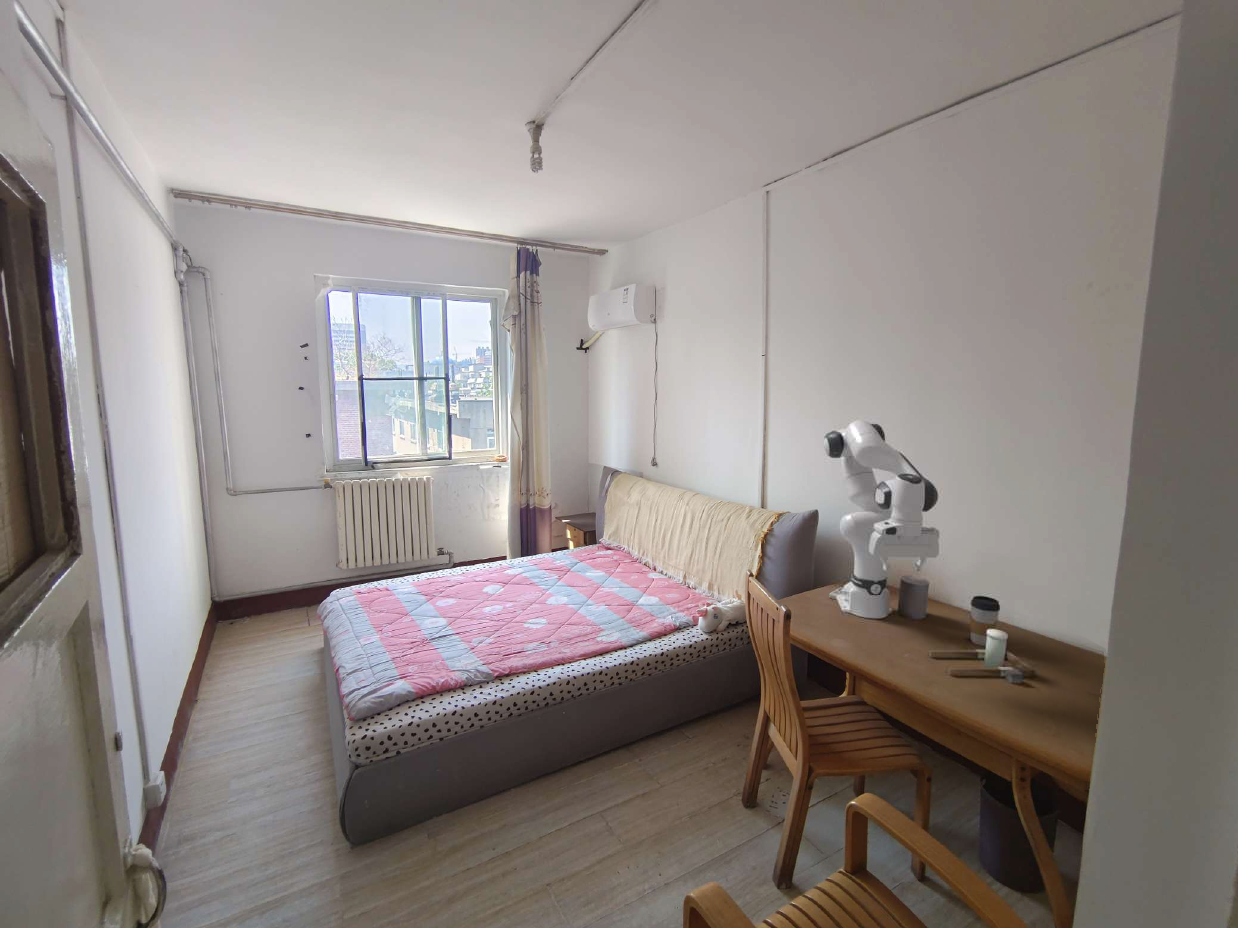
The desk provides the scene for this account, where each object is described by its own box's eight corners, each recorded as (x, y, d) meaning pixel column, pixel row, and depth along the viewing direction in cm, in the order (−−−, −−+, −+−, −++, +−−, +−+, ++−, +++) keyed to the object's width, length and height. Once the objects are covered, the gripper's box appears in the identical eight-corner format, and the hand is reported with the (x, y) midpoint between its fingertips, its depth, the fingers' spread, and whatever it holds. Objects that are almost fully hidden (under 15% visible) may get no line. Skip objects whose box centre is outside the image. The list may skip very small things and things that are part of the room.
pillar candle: (891, 611, 217) (894, 573, 215) (909, 606, 221) (912, 570, 219) (914, 621, 209) (917, 582, 206) (932, 616, 213) (935, 578, 210)
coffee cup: (966, 634, 198) (971, 593, 195) (995, 640, 193) (1000, 598, 191) (966, 644, 191) (971, 601, 188) (996, 650, 186) (1001, 606, 184)
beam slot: (927, 655, 183) (928, 646, 182) (1006, 656, 182) (1007, 647, 182) (957, 682, 166) (958, 672, 166) (1043, 683, 166) (1044, 673, 166)
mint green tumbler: (979, 661, 179) (982, 628, 177) (996, 661, 179) (1000, 629, 177) (990, 669, 174) (994, 636, 172) (1008, 670, 174) (1012, 636, 172)
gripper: (934, 524, 178) (930, 567, 180) (868, 524, 178) (865, 566, 181) (945, 530, 172) (941, 574, 174) (877, 529, 172) (873, 573, 174)
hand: (901, 570), depth 177 cm, fingers open, 8 cm apart
